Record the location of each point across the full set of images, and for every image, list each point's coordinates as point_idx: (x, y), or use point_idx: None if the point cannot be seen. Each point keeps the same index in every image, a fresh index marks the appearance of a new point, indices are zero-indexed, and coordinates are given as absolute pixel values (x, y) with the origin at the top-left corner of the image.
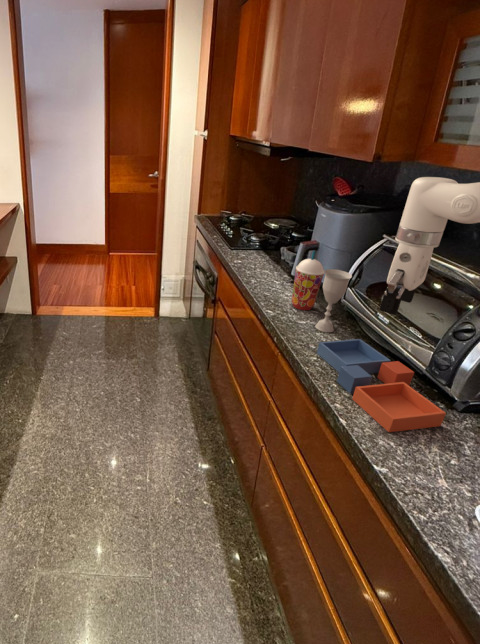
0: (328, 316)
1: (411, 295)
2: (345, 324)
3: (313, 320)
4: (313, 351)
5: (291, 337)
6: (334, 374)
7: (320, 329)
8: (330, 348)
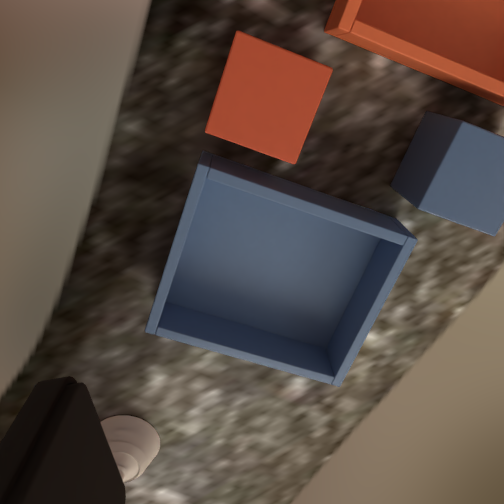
0: None
1: (47, 467)
2: None
3: None
4: None
5: (307, 449)
6: None
7: (157, 441)
8: (290, 346)
